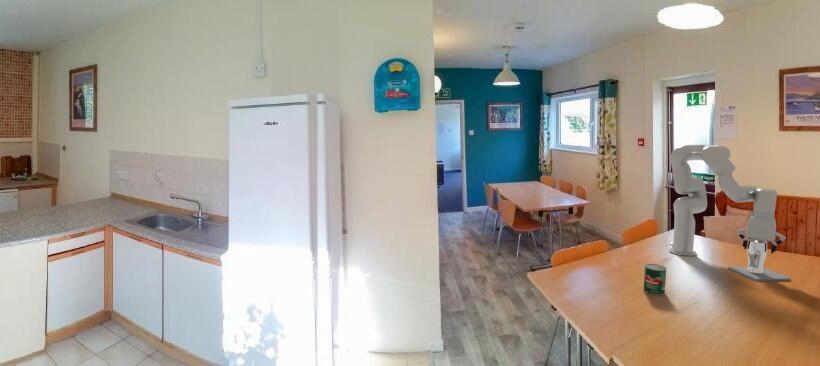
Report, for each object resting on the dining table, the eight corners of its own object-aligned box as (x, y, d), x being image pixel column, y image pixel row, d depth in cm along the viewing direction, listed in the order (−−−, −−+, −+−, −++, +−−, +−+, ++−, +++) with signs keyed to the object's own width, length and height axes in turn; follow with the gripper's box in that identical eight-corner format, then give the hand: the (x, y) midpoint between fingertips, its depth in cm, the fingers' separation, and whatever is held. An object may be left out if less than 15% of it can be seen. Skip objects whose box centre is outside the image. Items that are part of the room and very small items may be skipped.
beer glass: (757, 269, 194) (760, 239, 193) (768, 274, 188) (771, 243, 186) (741, 269, 195) (744, 239, 193) (752, 274, 188) (755, 243, 186)
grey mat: (727, 269, 199) (727, 267, 198) (759, 268, 199) (760, 266, 199) (755, 281, 183) (755, 279, 183) (790, 280, 183) (790, 278, 183)
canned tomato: (645, 293, 171) (646, 268, 169) (641, 287, 178) (643, 263, 176) (666, 296, 168) (668, 271, 166) (662, 289, 175) (664, 265, 174)
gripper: (738, 213, 191) (734, 248, 193) (788, 219, 179) (782, 256, 181) (740, 211, 196) (736, 245, 198) (788, 216, 184) (783, 253, 186)
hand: (758, 250), depth 190 cm, fingers open, 9 cm apart
